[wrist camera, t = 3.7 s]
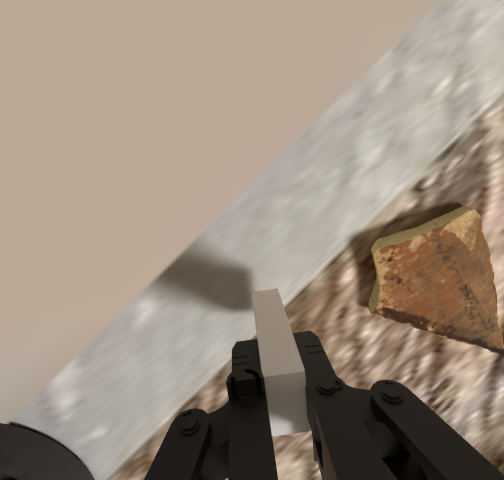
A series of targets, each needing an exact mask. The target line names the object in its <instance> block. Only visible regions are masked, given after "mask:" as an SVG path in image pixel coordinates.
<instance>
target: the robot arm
mask: <svg viewBox="0 0 504 480" xmlns="http://www.w3.org/2000/svg"><path fill="white" fill-rule="evenodd" d="M251 293H252V301H253V309H254V316H255V324H256V332H257V339H253V340H246V341H239V342H236V344H235V345H234V347H233V349H232V372H231V374H230V375H229V376H228V378H227V381H226V385H227V391H228V396H229V400H228V402H227V403H226V404H225V405H224V406H223V407H221V408H220V409H218V410H216V411H214V412H212V413H209V414H207V413H206V412H205V411H204V410H201V409H197V408H196V409H189V410H187V411H184V412H182V413H181V414H180V415H178V416H177V417H176V418H175V419H174V421H173V422H172V424H171V426H170V428H169V430H168V432H167V434H166V436H165V438H164V440H163V442H162V444H161V446H160V448H159V450H158V452H157V454H156V456H155V458H154V461H153V463H152V465H151V467H150V469H149V471H148V473H147V475H146V477H145V479H144V480H225V479H227V478H228V480H278V476H277V469H276V462H275V454H274V447H273V440H272V437H273V436H280V435H287V434H293V433H300V432H307V431H310V428H311V431H312V436H313V449H314V461H318V465H319V468H320V472H321V476H322V479H323V480H504V475H503V474H502V473H501V472H500V471H499V470H498V469H497V468H496V467H494V466H493V465H492V464H491V463H490V462H489V461H488V460H487V459H486V458H484V457H483V456H482V455H481V454H480V453H479V452H478V451H477V450H476V449H475V448H473V447H472V446H471V445H470V444H469V443H468V442H467V441H466V440H465V439H463V438H462V437H461V436H460V435H459V434H458V433H457V432H456V431H455V430H453V429H452V428H451V427H450V426H449V425H448V424H447V423H446V422H445V421H443V420H442V419H441V418H440V417H439V416H438V415H437V414H436V413H435V412H433V411H432V410H431V409H430V408H429V407H428V406H427V405H426V404H425V403H423V402H422V401H421V400H420V399H419V398H418V397H417V396H416V395H415V394H413V393H412V392H411V391H410V390H409V389H408V388H407V387H405V386H404V385H402V384H401V383H398V382H395V381H392V380H381V381H377V382H376V383H374V384H373V385H372V387H371V390H365V389H357V388H353V387H350V386H347V385H346V384H345V383H344V382H343V381H342V379H340V378H338V377H337V376H336V374H335V372H334V370H333V368H332V366H331V364H330V362H329V360H328V357H327V355H326V353H325V352H324V349H323V347H322V345H321V342H320V340H319V338H318V336H316V335H315V334H314V333H313V332H311V331H305V332H298V333H292V330H291V327H290V324H289V321H288V318H287V315H286V312H285V309H284V306H283V303H282V300H281V297H280V294H279V291H278V289H271V290H264V291H257V292H251ZM309 424H310V427H309ZM0 480H94V478H93V477H92V475H91V473H90V472H89V471H88V469H87V468H86V467H85V466H84V465H83V463H82V462H81V461H80V460H79V459H78V458H76V457H75V456H74V455H73V454H72V453H71V452H69V451H68V450H67V449H65V448H64V447H62V446H61V445H59V444H57V443H56V442H54V441H52V440H50V439H48V438H46V437H44V436H42V435H40V434H37V433H35V432H32V431H29V430H26V429H23V428H20V427H16V426H12V425H7V424H1V423H0Z"/></svg>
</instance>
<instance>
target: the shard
mask: <svg viewBox="0 0 504 480" xmlns="http://www.w3.org/2000/svg"><path fill="white" fill-rule="evenodd" d="M482 228H483V227H482V221H481V218H480V215H479V214H478V213H477V212H476V211H475V210H474V208H473V207H460V208H458V209H455V210H453V211H451V212H449V213H447V214H444V215H442V216H440V217H437V218H435V219H433V220H431V221H428V222H426V223H424V224H422V225H420V226H418V227H415V228H411V229H408V230H404V231H401V232H397V233H394V234H392V235H389V236H387V237H383V238H379V239H378V240H376V242H374V244H373V246H372V248H371V252H372V255H373V261H374V264H375V267H376V272H377V276H376V281H375V284H374V287H373V290H372V293H371V297H370V299H369V302H368V307H369V311H370V313H372V314H374V315H379V316H382V317H384V318H388V319H391V320H393V321H395V322H399V323H402V324H408V325H411V326H412V327H414V328H417V329H420V330H424V331H427V332H430V333H432V334H434V335H437V336H441V337H445V338H447V339H451V340H455V341H458V342H462V343H467V344H471V345H477V346H480V347H483V348H486V349H488V350H489V351H491V352H495V353H499V354H502V355H504V346H503V339H502V332H501V329H500V326H499V324H498V314H497V294H496V289H495V284H494V272H493V267H492V264H491V260H490V251H489V247H488V243H487V239H486V237H485V236H484V234H483V229H482Z"/></svg>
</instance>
